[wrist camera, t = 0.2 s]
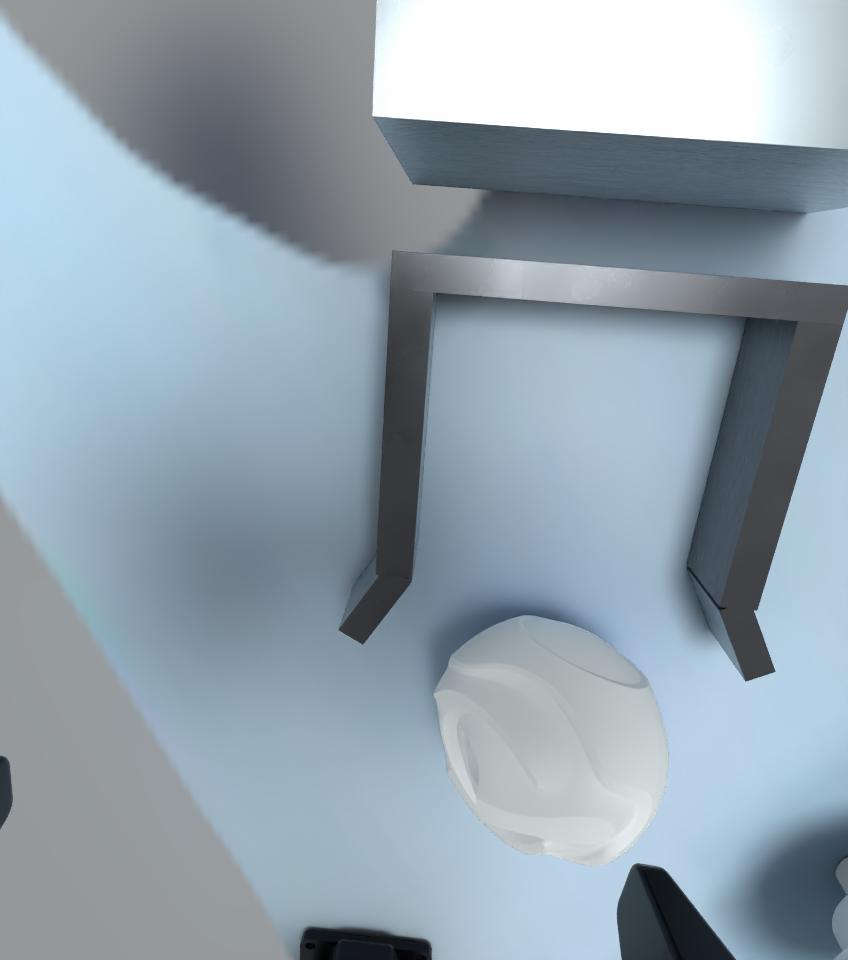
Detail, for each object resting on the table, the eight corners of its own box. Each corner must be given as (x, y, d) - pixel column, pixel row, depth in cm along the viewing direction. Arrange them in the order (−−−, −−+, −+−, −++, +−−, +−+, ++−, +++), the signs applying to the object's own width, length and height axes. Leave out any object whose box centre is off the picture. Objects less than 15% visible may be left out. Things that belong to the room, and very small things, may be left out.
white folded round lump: (425, 585, 23) (409, 730, 16) (626, 564, 23) (705, 706, 15) (452, 748, 26) (450, 937, 19) (633, 734, 25) (704, 926, 18)
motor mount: (733, 633, 23) (890, 844, 15) (352, 597, 24) (292, 782, 15) (951, -122, 15) (1547, -592, 7) (380, -155, 16) (289, -633, 7)
